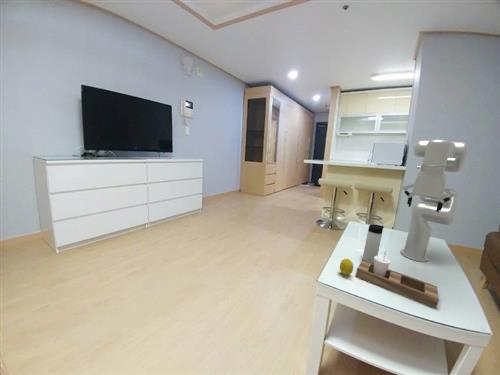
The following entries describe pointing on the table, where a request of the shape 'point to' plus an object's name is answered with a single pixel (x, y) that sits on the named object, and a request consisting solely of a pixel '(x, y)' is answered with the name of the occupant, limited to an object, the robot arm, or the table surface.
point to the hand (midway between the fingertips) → (422, 208)
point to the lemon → (346, 266)
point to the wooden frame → (400, 284)
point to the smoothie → (381, 265)
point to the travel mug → (372, 243)
